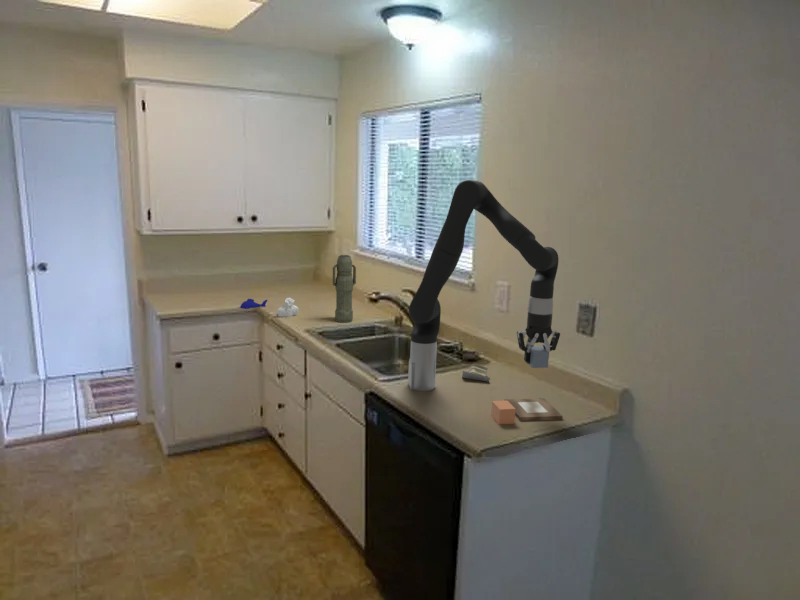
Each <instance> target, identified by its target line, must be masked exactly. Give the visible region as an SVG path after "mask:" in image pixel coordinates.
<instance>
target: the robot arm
mask: <svg viewBox="0 0 800 600" xmlns="http://www.w3.org/2000/svg"><path fill="white" fill-rule="evenodd" d="M474 210H475V211H477V212H478V213H479V214H481V215H482V216H484V218H486V219H487V220H489V221H490V222H491V224H493V226H494V227H495V229H496V230H497V232H498V233H499V234H500V235H501V237H502V238H503V239H504V240H506V242H507V243H509V244H510V245H511V246H512V247H514V248H515V250H517V251H518V252H519V253H520V255H521V256H522V258H523V259H524V260H525V262H526V263H528V265H529V266H530V267H532V268H533V269H534V270H535V272H534V277H532V280H531V282H530V287H529V288H530V291H529V300H528V306H527V319H526V321H527V322H526V328H525V329H524V330H522V331H520V330H518V331H516V336H517V343H518V348H519V349H520V350H521V351H523V352H524V354H523V355H524V357H523V360H524V362H525V361H526V362H525V363H526V364H527V365H529V364H530V356H531V353H530V351H531V349H532V347H533V346H535V344H539V343H540V344H542V348H544V349H545V350H547V351H548V352H549V353H550V352H551V351H555V350H556V349H557V346H558V343H559V341H560V340H559V339H560V337H561V333H560V332H559V331H557V330H552V323H553V313H554V312H553V311H554V299H553V297H554V287H555V280H556V276H557V272H558V269H559V254H558V251H557V250H556V249H554V248H553V247H551V246H543V245H542V244H540V242H538V241H537V239H536V235H535V234H534V233H533V232H532V231H531V230H530V229H529V228H527V226H525V225H524V224H523V223H522V222H521V221H520V220H518V219H517V218H516V217H515V216H514V215H512V214H511V213H510V211H508V210H507V209H506V208H505V207H504V206H503V205H502V204H501V202H499V201H498V199H497V198H496V197H495V196H494V194H493V193H492V192H491V191H490V189H488V187H487V186H486V185H485V184H484V183H483V182H482V181H479V180H476V179H475V180H474V179H463V180H462V181H461V182H459V183H458V184H457V186H456V187H455V189H454V192H453V194H452V198H451V202H450V206H449V210H448V212H447V215H446V218H445V221H444V223H443V226H442V228H441V231H440V233H439V235H438V238H437V240H436V242H435V245H434V246H433V249H432V252H431V254H430V257H429V261H428V263H427V266H426V268H425V271H424V274H423V278H422V279H421V282H420V284H419V286H418V288H417V290H416V292H415V294H414V296H413V297H412V300H411V302H410V304H409V307H408V314H409V317H410V319H411V321H412V322H414V327H413V328H412V331H411V333H410V349H409V350H410V351H409V353H410V355H409V359H408V374H407V375H408V376H407V377H408V378H407V380H408V381H407V385H408V386H409V389H410V391H418V392H429V391H432V390H434V389H435V388H436V374H437V372H436V371H437V352H438V351H437V350H438V348H437V346H438V344H437V343H438V335H439V333H440V328H441V327H440V326H441V314H442V313H441V312H442V310H441V303H440V301H439V299H438V298H439V295H440V293H441V292H442V289H443V288H444V286H445V285H446V283H447V282H448V280H449V279H450V277H451V276H452V274H453V273H454V271H455V269H456V267H457V265H458V263H459V261H460V259H461V255H462V253H463V250H464V246H465V237H466V235H465V234H466V228H467V225H468V222H469V219H470V218H471V216H472V214H473V211H474ZM526 335H527V339H526V344H525V340H524V339H525V338H526ZM550 336H551V339H550V342H549V338H550ZM549 360H550V358H549V359H548V361H549Z"/></svg>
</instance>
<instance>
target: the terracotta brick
mask: <svg viewBox="0 0 800 600" xmlns="http://www.w3.org/2000/svg"><path fill="white" fill-rule="evenodd" d="M504 400H505V399H504ZM504 400H492V402H491V417H492V418H493V419H494V421H496V423H497V424H498V425H514V424H515V420H516V416H515V408H514V407H513V406H512V405H511V404H510V403H509V402H508V401H507V400H505V401H504Z"/></svg>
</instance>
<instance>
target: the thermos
mask: <svg viewBox="0 0 800 600" xmlns="http://www.w3.org/2000/svg"><path fill="white" fill-rule="evenodd" d="M356 284H357V267H356V266H355V264H353V260H352V256H351V255H347V254H340V255H339V256H338V258H337V260H336V263H335V264H334V265H333V266H332V286H335V292H336V293H335V295H336V297H335V300H336V301H335V302H336V304H335V306H336V307H335V310H334V319H335V322H337V323H341V324H349V323H352V322H353V319H354V317H353V316H354V311H353V307H352V306H353V292H354V291H353V290H354V286H355V285H356Z"/></svg>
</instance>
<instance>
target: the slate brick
mask: <svg viewBox="0 0 800 600" xmlns="http://www.w3.org/2000/svg"><path fill="white" fill-rule="evenodd" d="M530 353H531V356H530V364H528V365H529V366H530V367H531V368H533V369H536V368H537V369H539V368H541V369H544V368H547V369H548V367H549V360H550V352H548V351H547V350H545V349H544V348H543V346H540V345H534V346H533V347H532V349H531V351H530ZM548 359H549V360H548ZM524 362H525V363H526V361H525V360H524Z"/></svg>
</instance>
